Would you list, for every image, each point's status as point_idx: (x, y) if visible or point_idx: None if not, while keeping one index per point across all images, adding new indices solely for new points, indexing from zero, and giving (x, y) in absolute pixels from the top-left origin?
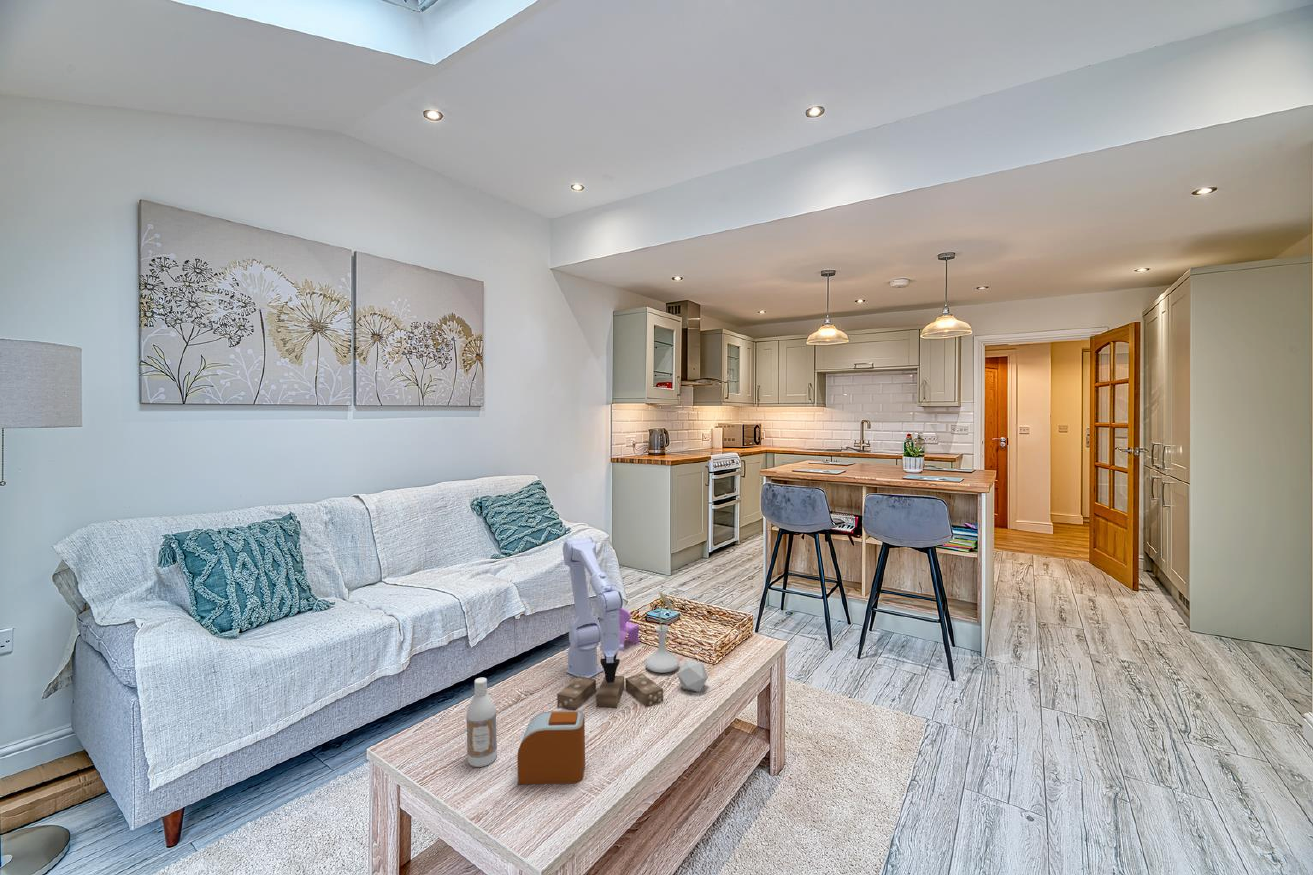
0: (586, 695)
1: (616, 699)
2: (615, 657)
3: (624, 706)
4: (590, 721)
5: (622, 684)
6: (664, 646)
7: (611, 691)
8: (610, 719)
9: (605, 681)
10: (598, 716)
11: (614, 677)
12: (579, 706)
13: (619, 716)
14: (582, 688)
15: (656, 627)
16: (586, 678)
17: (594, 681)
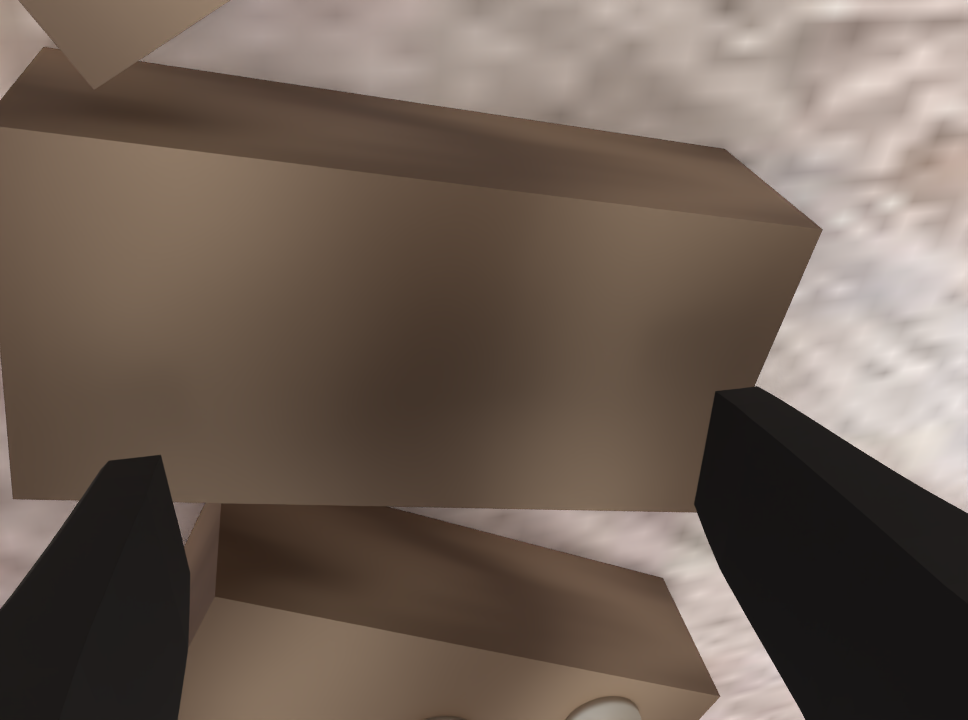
0: (466, 567)
1: (788, 203)
2: (67, 714)
3: (702, 27)
4: (908, 413)
5: (224, 122)
6: None
7: (651, 323)
8: (957, 209)
9: (273, 457)
10: (843, 350)
11: (840, 443)
12: (588, 560)
13: (937, 96)
14: (491, 682)
15: None
16: (182, 705)
17: (260, 597)
